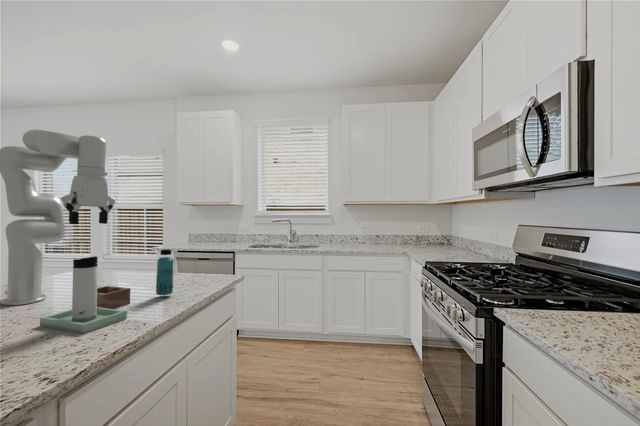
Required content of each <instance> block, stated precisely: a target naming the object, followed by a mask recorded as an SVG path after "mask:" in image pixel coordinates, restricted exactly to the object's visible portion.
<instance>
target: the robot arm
mask: <svg viewBox="0 0 640 426" xmlns="http://www.w3.org/2000/svg"><path fill="white" fill-rule="evenodd" d="M22 143H23V145H24V146H25V147H23V146H15V145H9V146H7V145H6V146H3V147H2V148H0V175H1V177H2V180H3V181H4V185H5V192H6V193H5V194H6V202H7V208H8V211H9V213H10V214H11V215H12V216H13V217H18V218H19V217H20V218H26V219H18V220H17V219H16V220H13V221H10V222H9V223H8V224H7V225H6V226H5V236H6V242H7V249H8V250H7V251H8V253H7V254H8V256H7V257H8V259H7V261H8V262H7V266H8V267H7V290H6V291H5V292H4V294H5V295H6V296H7V297H6V298H4V299H2V300H0V301H1V302H0V304H1V305H3V306H19V305H20V306H22V305H28V304H33V303H34V304H35V303H38V302H41V301H44V300H46V299H47V295H46V294H43V293H42V279H43V275H42V274H43V253H42V251H41V250H40V249H39V248H38V247H37V246H36V244H49V243H50V244H51V243H57V242H58V243H59V242H60V241H62V240H63V239H64V237H65V235H66V234H65V233H66V230H65V229H66V226H65V219H64V213H63V212H64V211H63V207H64V208H65V209H66V211H67V212H68V222H69V225H78V224H79V218H80V217H79V216H80V213H79V211H78V210H80V208H81V207H89V208H90V207H91V208H93V207H95V208H98V209H99V210H100V211H99V213H98V214H99V215H98V224H105V225H106V224H108V218H109V217H108V216H109V215H108V214H109V213H110V212H111V210H112V209H113V208H114V205H115V203H116V200H115V199H113V198H112V197H110V196H109V190H108V183H107V179H106V178H105V177H107V176H108V172H107V171H106V159H107V158H106V156H107V142H106V140H105V139H104V138H103V137H100V136H99V137H98V136H95V135H81V136H80V137H78V136H76V135H75V136H74V135H70V134H66V133H61V132H56V131H51V130H50V131H49V130H43V129H31V130H28V131H26V132H25V133H24V134H23V135H22ZM69 158H70V159H76V160H77V167H76V169H77V170H76V175H74V176H73V178H72V182H71V187H70V191H69V193H68V194H66V195H63V196H62V197H60V199H59V198H58V197H57V196H56V195H53V194H46V193H38V192H37V190H36V184H35V183H36V182H35V181H34V179H33V178H32V177H31V176H30V174H28V173H26V171H24V170H29V171H37V172H44V173H45V172H46V173H49V172H50V173H51V172H54V171H57V170H58V168H60V166H61V165H62V164H63V163H64V162H65V161H66V160H67V159H69ZM62 204H63V206H62ZM27 218H35V219H27ZM36 218H43V219H36Z"/></svg>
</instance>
